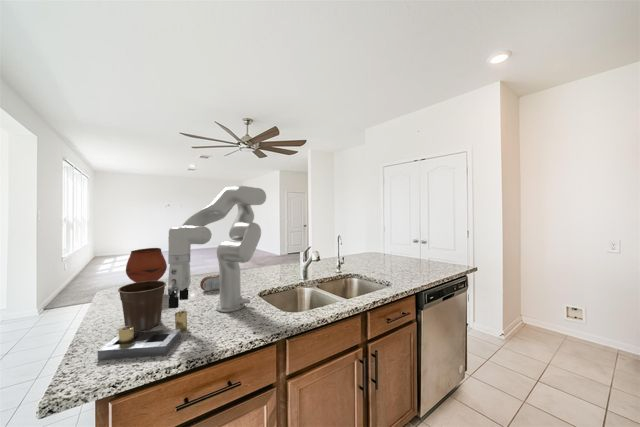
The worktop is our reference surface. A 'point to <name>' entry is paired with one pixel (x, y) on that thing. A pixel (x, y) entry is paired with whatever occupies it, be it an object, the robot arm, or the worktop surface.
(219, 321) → the worktop surface
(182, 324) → the brass cylinder
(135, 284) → the plant pot
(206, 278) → the tin
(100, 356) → the jig
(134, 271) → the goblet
